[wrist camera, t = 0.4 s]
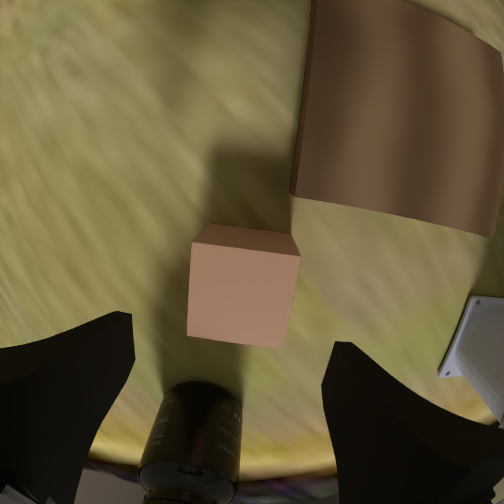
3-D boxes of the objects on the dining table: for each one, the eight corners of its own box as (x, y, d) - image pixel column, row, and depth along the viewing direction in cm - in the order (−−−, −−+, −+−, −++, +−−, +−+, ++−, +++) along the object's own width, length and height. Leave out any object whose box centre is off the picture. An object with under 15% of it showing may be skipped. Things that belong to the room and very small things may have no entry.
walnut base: (479, 61, 14) (500, 52, 11) (468, 229, 17) (493, 238, 15) (312, -2, 14) (319, -25, 11) (289, 192, 17) (294, 196, 14)
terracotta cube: (291, 233, 18) (301, 256, 13) (278, 307, 20) (282, 348, 15) (210, 222, 18) (192, 241, 13) (204, 296, 20) (186, 335, 15)
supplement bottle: (186, 435, 23) (159, 540, 12) (150, 384, 22) (98, 499, 10) (255, 425, 23) (250, 545, 11) (226, 370, 21) (201, 511, 9)
